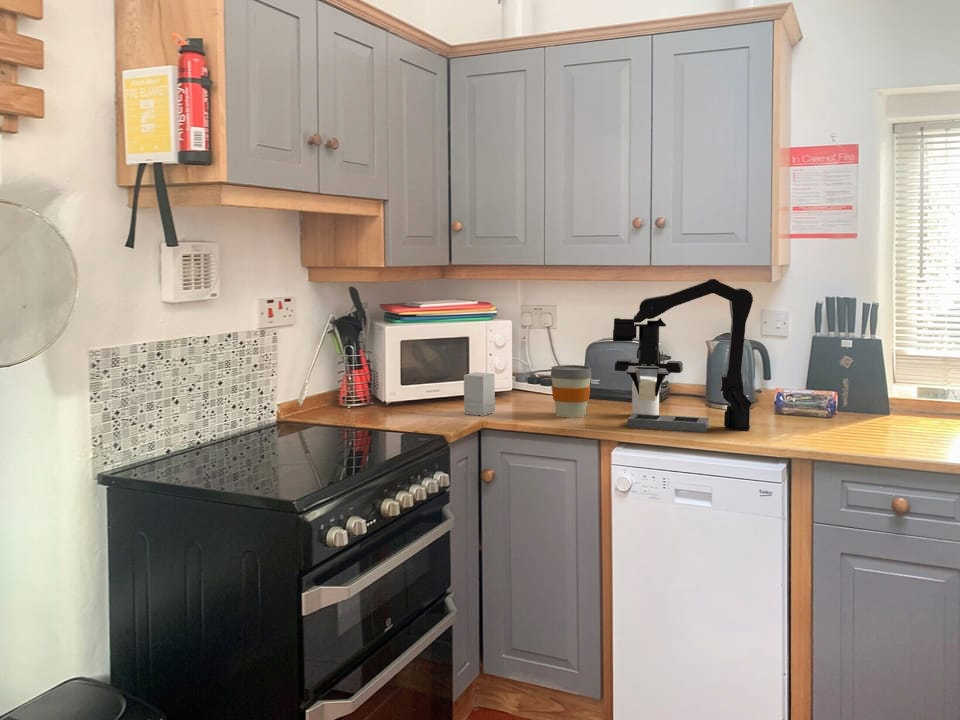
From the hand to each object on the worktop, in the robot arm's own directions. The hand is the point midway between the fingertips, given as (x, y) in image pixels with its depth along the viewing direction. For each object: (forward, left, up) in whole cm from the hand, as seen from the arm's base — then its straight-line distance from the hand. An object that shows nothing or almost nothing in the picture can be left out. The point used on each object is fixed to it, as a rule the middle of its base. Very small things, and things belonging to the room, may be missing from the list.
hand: (648, 395), depth 244 cm
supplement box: (+53, -2, -9) cm, 54 cm away
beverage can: (+3, -14, -9) cm, 17 cm away
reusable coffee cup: (+25, -8, -9) cm, 28 cm away
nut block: (0, 0, -1) cm, 1 cm away
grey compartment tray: (-6, 0, -9) cm, 11 cm away
